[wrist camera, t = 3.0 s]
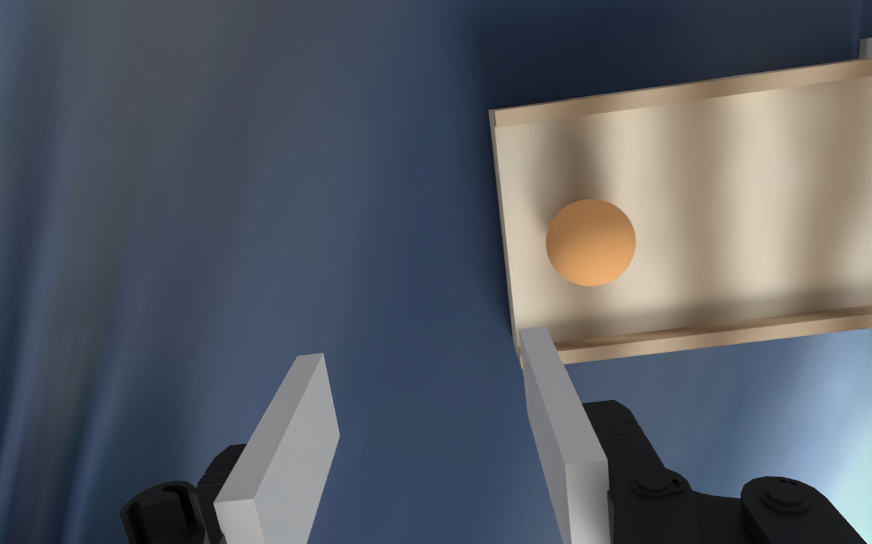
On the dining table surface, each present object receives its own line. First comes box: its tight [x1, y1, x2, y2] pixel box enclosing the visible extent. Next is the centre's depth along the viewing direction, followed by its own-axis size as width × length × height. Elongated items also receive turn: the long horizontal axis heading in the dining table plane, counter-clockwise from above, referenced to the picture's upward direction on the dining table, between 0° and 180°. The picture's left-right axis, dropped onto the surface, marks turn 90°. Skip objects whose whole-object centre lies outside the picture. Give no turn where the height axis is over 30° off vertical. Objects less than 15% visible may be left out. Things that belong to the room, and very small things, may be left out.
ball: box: [546, 199, 636, 286], centre depth 30 cm, size 4×4×4 cm
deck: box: [488, 58, 872, 369], centre depth 33 cm, size 20×14×4 cm
